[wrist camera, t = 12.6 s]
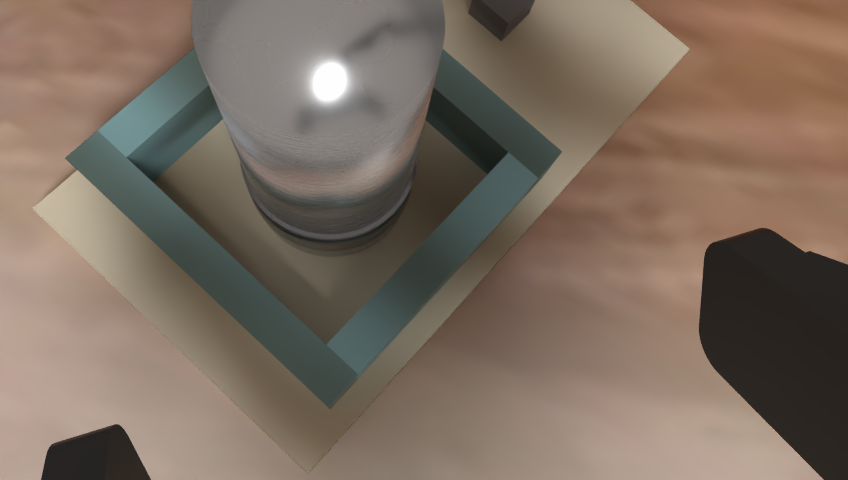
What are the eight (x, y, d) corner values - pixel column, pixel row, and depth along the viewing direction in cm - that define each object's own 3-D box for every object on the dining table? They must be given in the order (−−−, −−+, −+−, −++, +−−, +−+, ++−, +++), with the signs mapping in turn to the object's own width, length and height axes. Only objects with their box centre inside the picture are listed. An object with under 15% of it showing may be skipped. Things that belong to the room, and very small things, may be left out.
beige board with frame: (443, -122, 29) (458, -205, 25) (672, 68, 28) (723, 11, 24) (51, 221, 24) (-6, 182, 20) (310, 470, 23) (302, 479, 19)
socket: (330, 82, 25) (317, -137, 15) (441, 181, 24) (501, 20, 15) (218, 185, 24) (128, 16, 14) (334, 292, 23) (323, 194, 13)
